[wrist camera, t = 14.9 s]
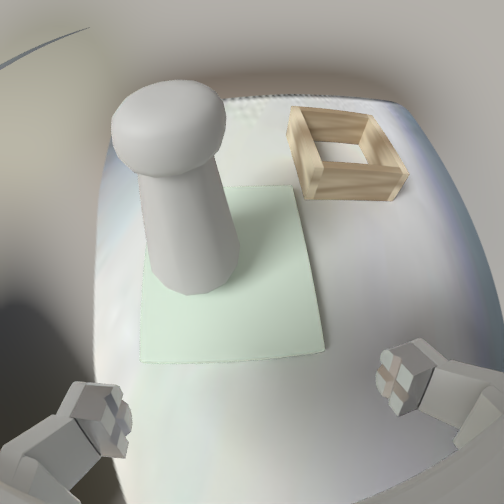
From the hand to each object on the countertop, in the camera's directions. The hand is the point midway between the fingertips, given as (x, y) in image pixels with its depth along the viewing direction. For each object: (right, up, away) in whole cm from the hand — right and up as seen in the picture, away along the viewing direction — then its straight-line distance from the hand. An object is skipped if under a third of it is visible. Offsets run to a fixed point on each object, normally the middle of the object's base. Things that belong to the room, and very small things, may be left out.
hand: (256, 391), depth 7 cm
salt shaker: (-4, +3, +12) cm, 13 cm away
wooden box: (+9, +13, +20) cm, 25 cm away
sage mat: (-2, +3, +13) cm, 14 cm away
